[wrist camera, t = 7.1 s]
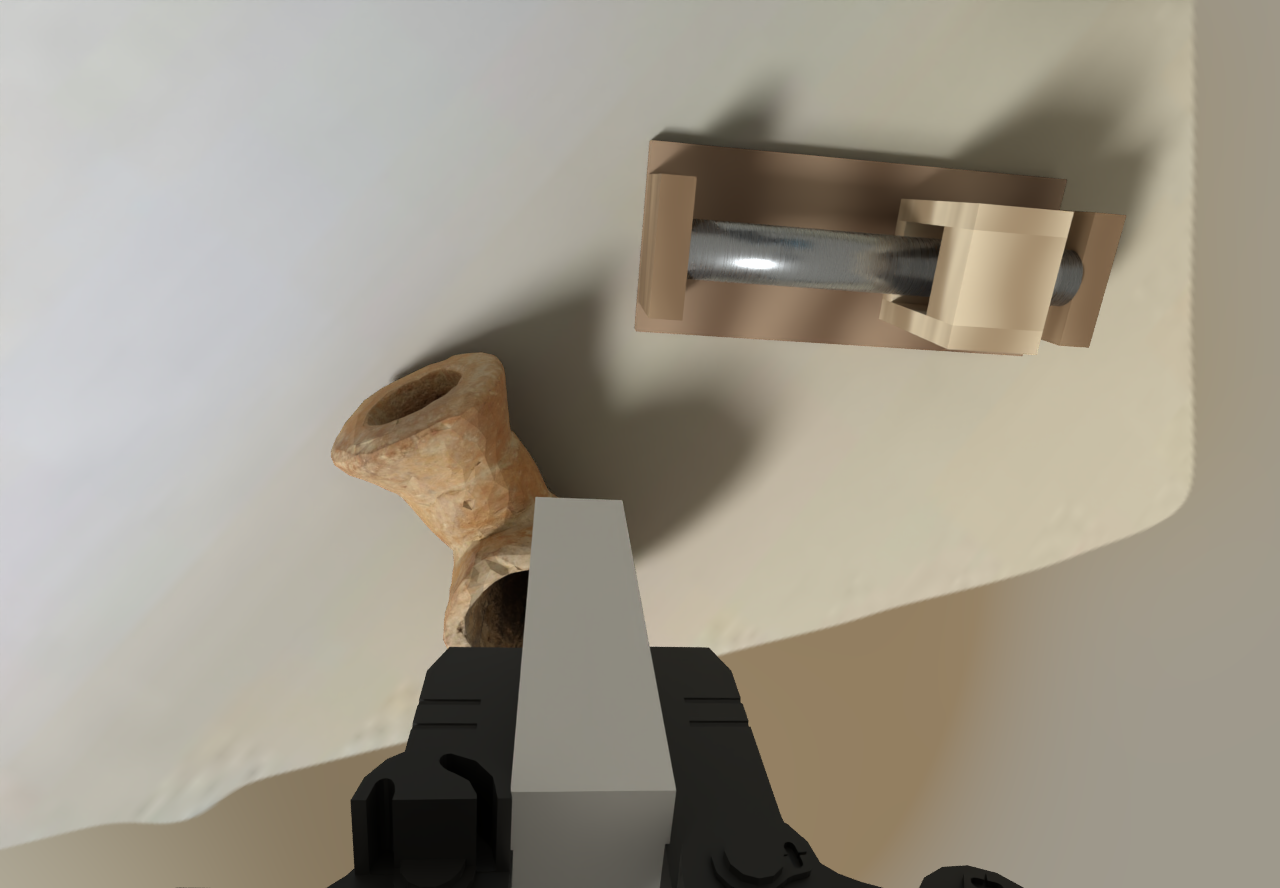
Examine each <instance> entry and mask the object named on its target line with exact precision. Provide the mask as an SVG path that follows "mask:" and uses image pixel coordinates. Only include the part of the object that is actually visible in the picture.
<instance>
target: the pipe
mask: <svg viewBox="0 0 1280 888" xmlns="http://www.w3.org/2000/svg"><path fill="white" fill-rule="evenodd" d="M331 458H332V460H333V462H334V465H335V466H337V467H338V468H340V469H341V470H342V471H344V472H345V473H347V474H348V475H350V476H353V477H356V478H359V479H363V480H365V481H368V482H371V483H373V484H376V485H378V486H380V487H382V488H384V489H386V490H389V491H391V492H394V493H396V494H398V495H399V496H401V497H402V498H403V499H404V500H405V501H406V502H407V503H408V504H409V506H410V507H411V508H412V509H413V510H414V511H415V512H416V514H417V515H418V516H419V517H420V518H421V519H422V520H423V522H424V523H425V524H426V525H427V526H428V527H429V529H430V530H431V531H432V532H433V533H435V534H436V535H437V536H438V537H439V538H440V539H441V540H442V541H443V542H444V543H445V544H446V545H447V546H449V547H450V548H451V549H452V550H453V555H454V568H453V574H452V584H451V587H450V596H449V602H448V606H447V609H446V612H445V619H444V635H443V640H444V642H445V644H446V647H447V649H448V648H449V647H505V648H523V638H524V626H525V614H526V603H527V591H528V579H529V568H530V556H531V544H532V532H533V521H534V509H535V497H551V498H558V497H557V496H556V495H554V494H553V493H551V492H550V491H548V489H547V487H546V485H545V482H544V480H543V478H542V476H541V474H540V472H539V469H538V467H537V466H536V464H535V462H534V460H533V459H532V457H531V455H530V454H529V452H528V451H527V450H526V448H525V447H524V445H523V444H522V443H521V441H520V440H519V439H518V437H517V436H516V435H515V433H514V432H513V431H511V429H510V424H509V412H508V403H507V390H506V379H505V371H504V368H503V365H502V363H501V361H500V360H499V359H498V358H497V357H496V356H495V355H491V354H487V353H483V352H477V353H465V354H459V355H453V356H451V357H450V358H448V359H446V360H443V361H440V362H437V363H434V364H430V365H428V366H426V367H423V368H421V369H419V370H417V371H415V372H413V373H411V374H409V375H407V376H405V377H403V378H401V379H399V380H397V381H395V382H393V383H391V384H389V385H387V386H385V387H383V388H382V389H380V390H379V391H377V392H376V393H374V394H373V395H371V396H370V397H369V398H367V399H366V400H364V401H363V403H362V404H361V405H360V406H359V407H358V409H357V410H356V411H355V412H354V413H353V415H352V416H351V417H350V418H349V419H348V420H347V422H346V423H345V424H344V426H343V428H342V430H341V431H340V433H339V435H338V436H337V438H336V440H335V442H334V445H333V447H332V450H331Z"/></svg>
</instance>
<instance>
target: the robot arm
mask: <svg viewBox="0 0 1280 888" xmlns="http://www.w3.org/2000/svg"><path fill="white" fill-rule="evenodd" d="M351 814H352V832H353V851H354V869H353V870H352V871H351V872H350V873H349V874H348V875H346V876H345V877H343V878H342V879H340V880H338V881H337V882H335V883H334V884H332V885H330V886H329V887H327V888H881V887H878V886H874V885H870V884H866V883H863V882H860V881H857V880H854V879H852V878H849V877H846V876H843V875H840V874H838V873H836V872H835V871H833V870H831V869H830V868H828V867H826V866H824V865H822V864H821V863H820V862H819V860H818V858H817V857H816V855H815V853H814V852H813V850H812V848H811V847H810V845H809V843H808V842H807V841H806V840H805V839H804V838H803V837H801V836H800V835H799V834H798V833H797V832H796V831H795V830H793V829H792V828H791V827H790V826H789V825H788V824H786V823H784V821H783V819H782V817H781V815H780V812H779V809H778V806H777V803H776V800H775V797H774V794H773V791H772V789H771V785H770V783H769V780H768V777H767V774H766V771H765V768H764V765H763V762H762V759H761V756H760V753H759V750H758V748H757V745H756V742H755V739H754V736H753V733H752V730H751V727H749V726H748V719H747V715H746V712H745V710H744V707H743V704H742V703H741V702H740V695H739V692H738V689H737V686H736V683H735V680H734V677H733V674H732V672H731V670H730V669H729V668H728V667H727V666H726V665H725V664H724V663H723V662H722V661H721V660H720V659H719V658H718V657H717V656H716V655H715V654H714V652H713V651H712V650H711V649H710V648H702V647H650V646H649V641H648V636H647V630H646V625H645V619H644V614H643V609H642V603H641V598H640V592H639V587H638V582H637V576H636V571H635V565H634V560H633V555H632V549H631V544H630V539H629V533H628V528H627V522H626V517H625V512H624V506H623V501H622V500H605V499H578V498H551V497H535V509H534V521H533V532H532V544H531V556H530V568H529V579H528V591H527V603H526V614H525V626H524V638H523V648H505V647H449V648H448V649H447V650H446V651H445V652H444V653H443V654H442V656H441V657H440V658H439V659H438V660H437V661H436V662H435V663H434V664H433V665H432V666H431V667H430V668H429V669H428V670H427V673H426V677H425V680H424V684H423V688H422V691H421V695H420V699H419V705H418V706H417V710H416V713H415V717H414V720H413V727H412V729H411V731H410V735H409V739H408V742H407V746H406V750H405V752H403V753H401V754H398V755H396V756H393V757H391V758H389V759H387V760H385V761H384V762H383V763H382V764H380V765H379V766H378V767H377V768H376V769H374V770H373V771H372V772H371V773H369V774H368V775H367V776H366V777H364V779H363V781H362V782H361V784H360V786H359V787H358V789H357V791H356V792H355V794H354V796H353V797H352V799H351ZM920 888H1023V887H1021V886H1020V885H1018V884H1016V883H1014V882H1012V881H1010V880H1009V879H1007V878H1005V877H1003V876H1001V875H999V874H998V873H995V872H991V871H987V870H983V869H979V868H976V867H971V866H968V865H966V866H951V867H942V868H940V869H938V870H936V871H935V872H933V873H931V874H930V875H928V876H926V877H924V879H923V881H922V883H921V885H920Z"/></svg>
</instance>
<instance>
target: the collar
mask: <svg viewBox="0 0 1280 888" xmlns="http://www.w3.org/2000/svg"><path fill="white" fill-rule="evenodd" d="M1073 214H1074V212H1070V211H1059V210H1047V209H1036V208H1025V207H1014V206H1003V205H992V204H980V203H964V202H947V201H931V200H914V199H901V203H900V208H899V214H898V219H897V224H896V230H895V235H898V236H910V237H922V238H934V239H942V241H941V246H940V251H939V256H938V261H937V265H936V270H935V275H934V280H933V285H932V290H931V294H930V297H923V296H910V295H896V294H883V299H882V304H881V310H880V315H879V319H881V320H883V321H885V322H887V323H890V324H892V325H894V326H896V327H899V328H901V329H903V330H905V331H908V332H910V333H912V334H914V335H917V336H919V337H921V338H923V339H926V340H928V341H930V342H932V343H935V344H937V345H939V346H941V347H944V348H946V349H953V350H968V351H984V352H999V353H1015V354H1030V355H1037V352H1038V348H1039V344H1040V340H1041V336H1042V332H1043V329H1044V325H1045V321H1046V317H1047V313H1048V309H1049V306H1050V302H1051V298H1052V294H1053V290H1054V286H1055V283H1056V279H1057V275H1058V271H1059V267H1060V263H1061V260H1062V256H1063V252H1064V248H1065V244H1066V240H1067V237H1068V233H1069V229H1070V225H1071V221H1072V217H1073Z"/></svg>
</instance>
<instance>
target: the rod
mask: <svg viewBox="0 0 1280 888" xmlns="http://www.w3.org/2000/svg"><path fill="white" fill-rule="evenodd" d="M941 241H942V239H934V238H922V237H910V236H898V235H886V234H874V233H862V232H850V231H837V230H825V229H813V228H801V227H789V226H777V225H765V224H753V223H741V222H729V221H717V220H705V219H693V221H692V231H691V241H690V251H689V261H688V271H687V279H690V280H704V281H718V282H732V283H745V284H759V285H773V286H786V287H800V288H814V289H828V290H841V291H855V292H869V293H882V294H896V295H910V296H923V297H930V294H931V290H932V285H933V280H934V275H935V270H936V265H937V261H938V256H939V251H940V246H941ZM1082 276H1083V265H1082V261H1081V258H1080V256H1079V255H1078V253H1076V252H1075V251H1073V250H1067V249H1064V252H1063V256H1062V260H1061V263H1060V267H1059V271H1058V275H1057V279H1056V283H1055V286H1054V290H1053V294H1052V298H1051V302H1050V306H1063V305H1066V304H1067V303H1069V302H1070V301H1071V300H1072V299H1073V298H1074V296H1075V295H1076V293H1077V291H1078V290H1079V287H1080V284H1081V281H1082Z"/></svg>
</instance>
